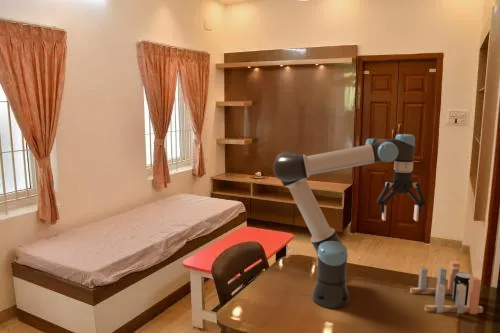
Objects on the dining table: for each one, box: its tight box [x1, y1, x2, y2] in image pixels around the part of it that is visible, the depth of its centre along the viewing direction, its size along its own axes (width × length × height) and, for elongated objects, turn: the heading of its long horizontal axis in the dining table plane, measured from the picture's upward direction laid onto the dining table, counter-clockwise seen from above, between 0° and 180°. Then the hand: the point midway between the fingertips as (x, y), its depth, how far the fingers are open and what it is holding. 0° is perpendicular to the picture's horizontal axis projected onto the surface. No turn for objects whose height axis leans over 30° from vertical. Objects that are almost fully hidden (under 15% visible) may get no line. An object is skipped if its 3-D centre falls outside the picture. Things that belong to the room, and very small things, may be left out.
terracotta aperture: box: [447, 260, 482, 315], centre depth 160 cm, size 3×19×14 cm, turn 179°
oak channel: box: [409, 287, 484, 314], centre depth 161 cm, size 22×16×2 cm
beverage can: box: [452, 271, 473, 306], centre depth 160 cm, size 7×7×12 cm
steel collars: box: [417, 266, 466, 314], centre depth 161 cm, size 10×18×11 cm, turn 179°
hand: (399, 220), depth 167 cm, fingers open, 13 cm apart
